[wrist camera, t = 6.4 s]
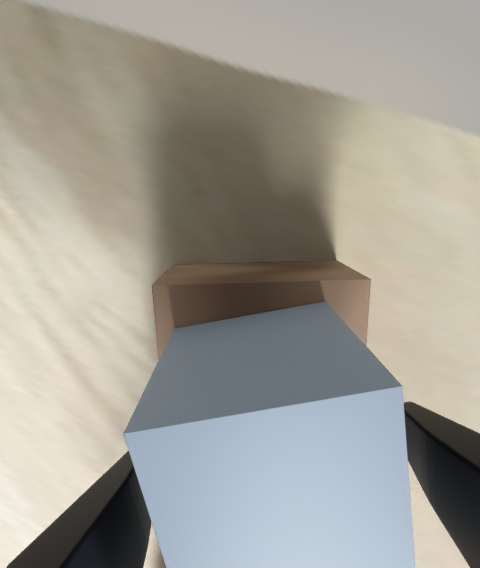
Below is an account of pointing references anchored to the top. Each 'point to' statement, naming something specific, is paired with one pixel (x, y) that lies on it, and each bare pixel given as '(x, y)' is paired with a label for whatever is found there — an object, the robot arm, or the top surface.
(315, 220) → the top surface
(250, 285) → the base brick
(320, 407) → the blue brick
